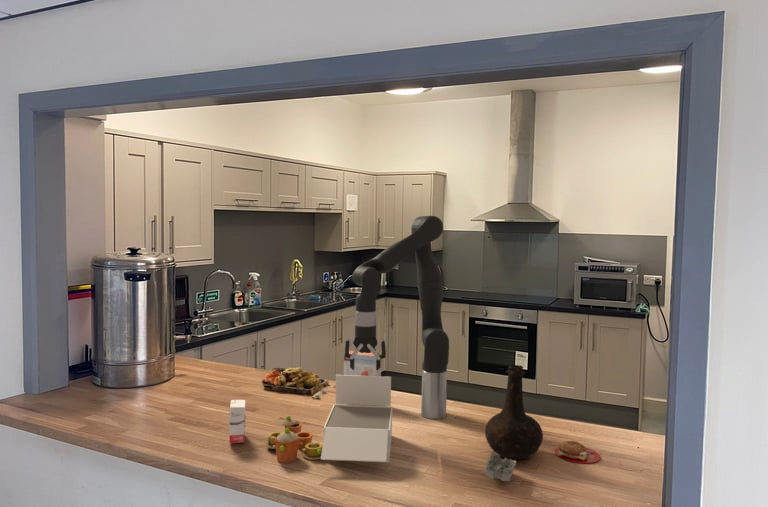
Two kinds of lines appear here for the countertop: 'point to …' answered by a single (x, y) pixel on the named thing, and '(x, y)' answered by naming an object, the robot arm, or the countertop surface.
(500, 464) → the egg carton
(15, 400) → the countertop surface
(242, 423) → the ink box
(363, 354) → the cracker box
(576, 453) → the hamburger
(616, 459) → the countertop surface
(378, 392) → the flap
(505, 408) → the glass bottle
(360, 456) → the carton
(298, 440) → the toy tea set
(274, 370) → the food tray
